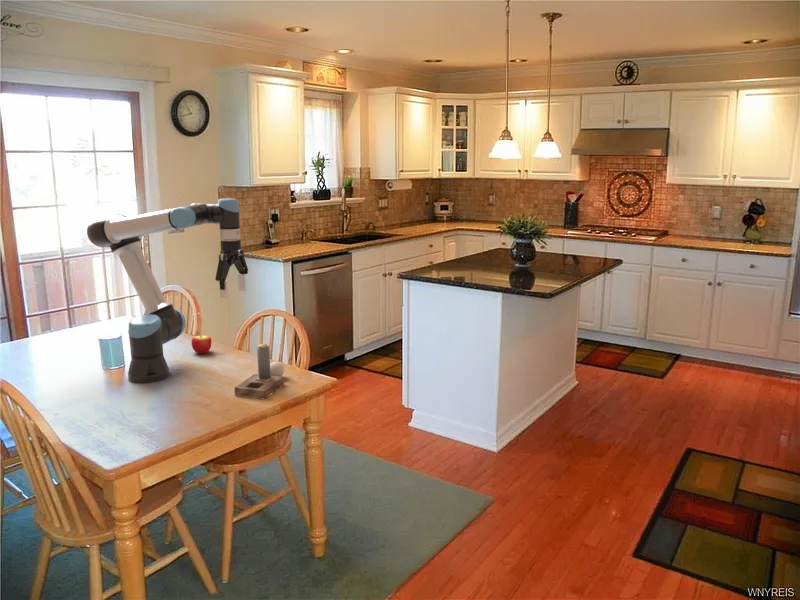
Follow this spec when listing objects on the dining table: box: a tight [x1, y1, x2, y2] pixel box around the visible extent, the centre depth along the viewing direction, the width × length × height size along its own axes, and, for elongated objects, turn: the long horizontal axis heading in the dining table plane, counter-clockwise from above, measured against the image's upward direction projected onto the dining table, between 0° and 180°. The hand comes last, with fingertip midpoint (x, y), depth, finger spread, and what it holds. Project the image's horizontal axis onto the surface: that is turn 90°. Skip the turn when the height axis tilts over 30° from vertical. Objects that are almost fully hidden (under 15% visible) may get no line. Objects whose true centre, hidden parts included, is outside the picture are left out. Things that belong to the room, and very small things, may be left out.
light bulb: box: [270, 361, 285, 377], centre depth 247 cm, size 7×7×11 cm
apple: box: [191, 331, 212, 355], centre depth 277 cm, size 8×8×10 cm
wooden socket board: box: [234, 373, 285, 400], centre depth 236 cm, size 12×15×3 cm
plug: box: [256, 343, 271, 380], centre depth 238 cm, size 4×4×13 cm
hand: (233, 294), depth 248 cm, fingers open, 13 cm apart
